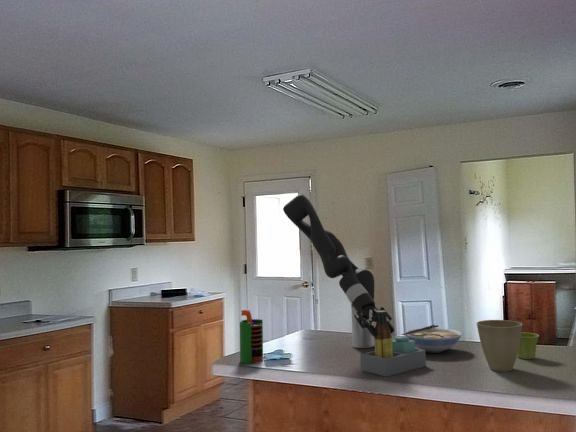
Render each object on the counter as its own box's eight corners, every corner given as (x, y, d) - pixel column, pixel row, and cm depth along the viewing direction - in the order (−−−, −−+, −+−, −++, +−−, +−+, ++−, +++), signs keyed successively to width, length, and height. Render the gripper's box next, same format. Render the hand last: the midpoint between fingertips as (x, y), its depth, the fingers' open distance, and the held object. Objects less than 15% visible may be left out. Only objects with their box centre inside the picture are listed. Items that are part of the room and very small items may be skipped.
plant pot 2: (540, 355, 209) (539, 332, 210) (540, 361, 201) (538, 337, 201) (513, 354, 213) (512, 331, 214) (512, 359, 205) (511, 336, 205)
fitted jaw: (400, 359, 205) (400, 335, 206) (415, 363, 200) (414, 337, 200) (390, 362, 202) (389, 337, 202) (404, 365, 196) (403, 339, 196)
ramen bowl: (440, 360, 207) (439, 338, 207) (391, 352, 224) (391, 332, 225) (475, 349, 224) (474, 329, 224) (427, 342, 241) (426, 324, 241)
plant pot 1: (469, 368, 194) (467, 322, 195) (498, 362, 202) (496, 318, 202) (504, 377, 181) (502, 328, 182) (533, 370, 189) (531, 323, 189)
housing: (400, 360, 209) (399, 345, 209) (425, 366, 199) (425, 349, 199) (361, 370, 196) (360, 354, 196) (386, 376, 186) (385, 359, 187)
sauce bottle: (394, 365, 197) (393, 309, 197) (392, 369, 191) (390, 312, 192) (376, 364, 199) (374, 309, 200) (373, 368, 193) (371, 312, 194)
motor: (259, 364, 211) (257, 311, 211) (237, 363, 213) (235, 311, 213) (265, 358, 221) (264, 308, 221) (244, 357, 222) (242, 308, 223)
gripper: (368, 303, 211) (392, 337, 201) (341, 307, 202) (365, 343, 192) (378, 290, 207) (403, 324, 197) (351, 294, 198) (376, 329, 188)
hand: (384, 333), depth 195 cm, fingers open, 8 cm apart
